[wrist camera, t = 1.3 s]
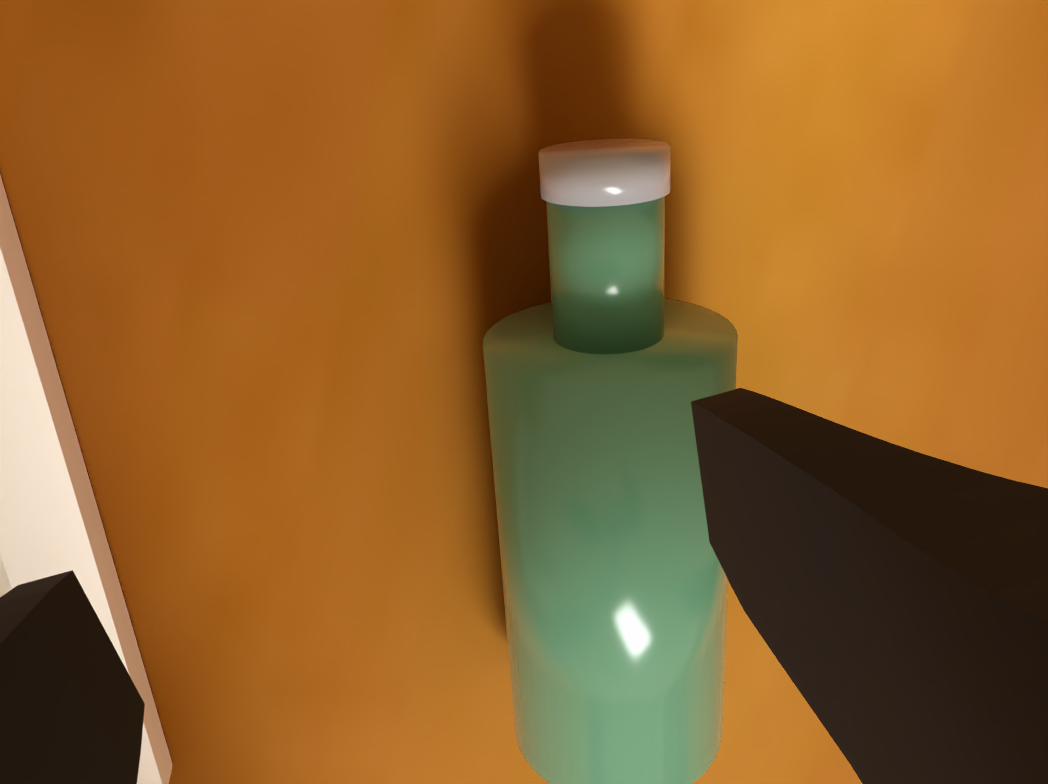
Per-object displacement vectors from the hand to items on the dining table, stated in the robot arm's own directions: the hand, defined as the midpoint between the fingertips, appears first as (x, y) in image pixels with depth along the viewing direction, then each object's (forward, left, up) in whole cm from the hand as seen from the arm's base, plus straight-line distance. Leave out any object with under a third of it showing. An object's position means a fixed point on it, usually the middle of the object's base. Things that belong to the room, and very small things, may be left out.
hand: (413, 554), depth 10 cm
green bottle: (-4, -4, -10) cm, 11 cm away
